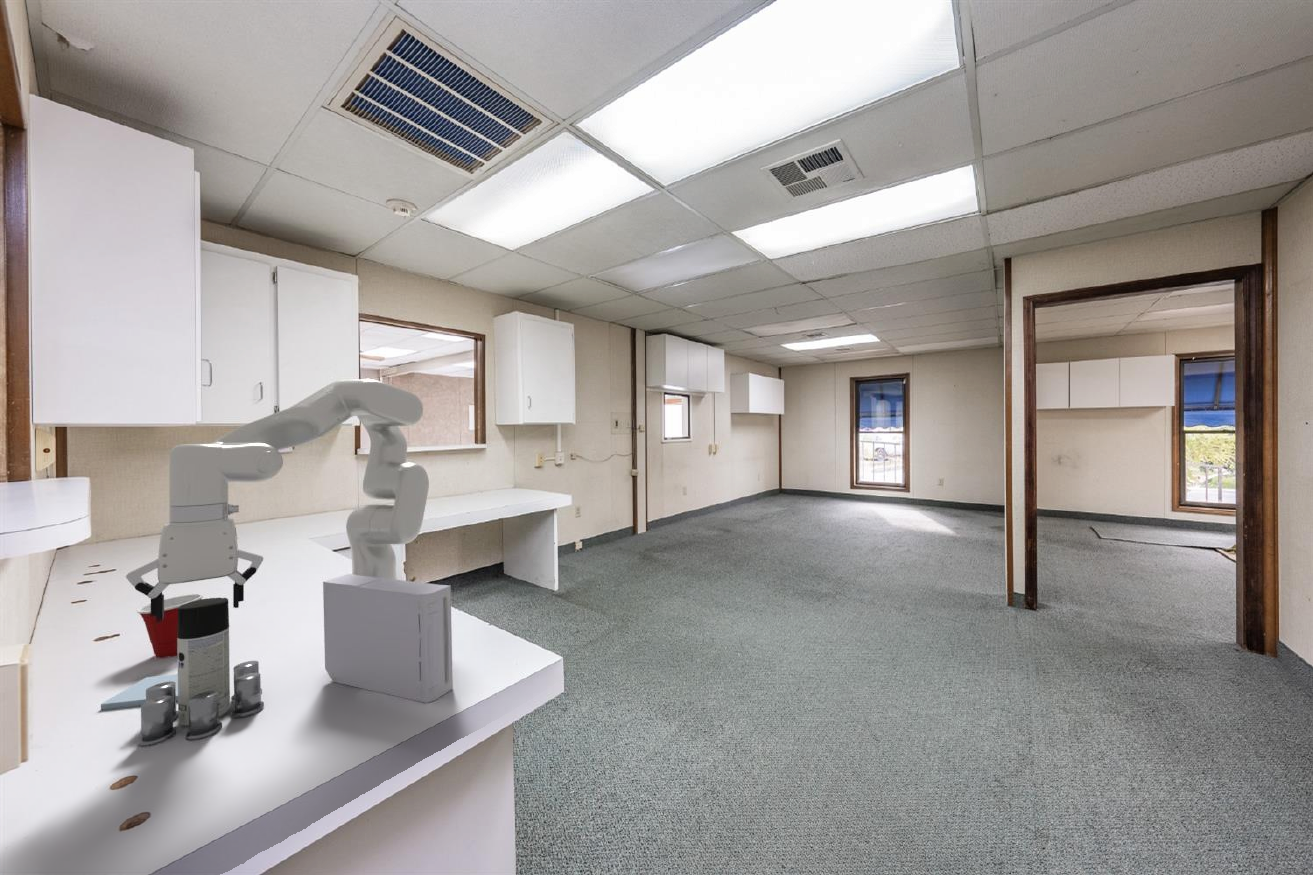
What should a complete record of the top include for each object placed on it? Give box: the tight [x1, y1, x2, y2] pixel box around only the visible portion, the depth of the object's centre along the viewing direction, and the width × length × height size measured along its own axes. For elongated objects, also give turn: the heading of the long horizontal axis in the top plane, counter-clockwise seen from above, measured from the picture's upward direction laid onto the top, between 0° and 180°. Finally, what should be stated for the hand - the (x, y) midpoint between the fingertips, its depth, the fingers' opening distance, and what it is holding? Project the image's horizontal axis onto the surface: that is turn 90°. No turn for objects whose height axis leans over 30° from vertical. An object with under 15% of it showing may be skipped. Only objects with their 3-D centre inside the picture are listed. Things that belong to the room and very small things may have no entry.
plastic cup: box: [136, 593, 204, 659], centre depth 111 cm, size 11×11×12 cm
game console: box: [322, 573, 454, 704], centre depth 95 cm, size 6×27×20 cm, turn 70°
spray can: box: [177, 597, 231, 728], centre depth 85 cm, size 7×7×20 cm
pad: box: [100, 673, 178, 711], centre depth 94 cm, size 13×10×1 cm
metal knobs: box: [137, 660, 265, 748], centre depth 85 cm, size 17×16×6 cm
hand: (199, 612), depth 84 cm, fingers open, 9 cm apart
